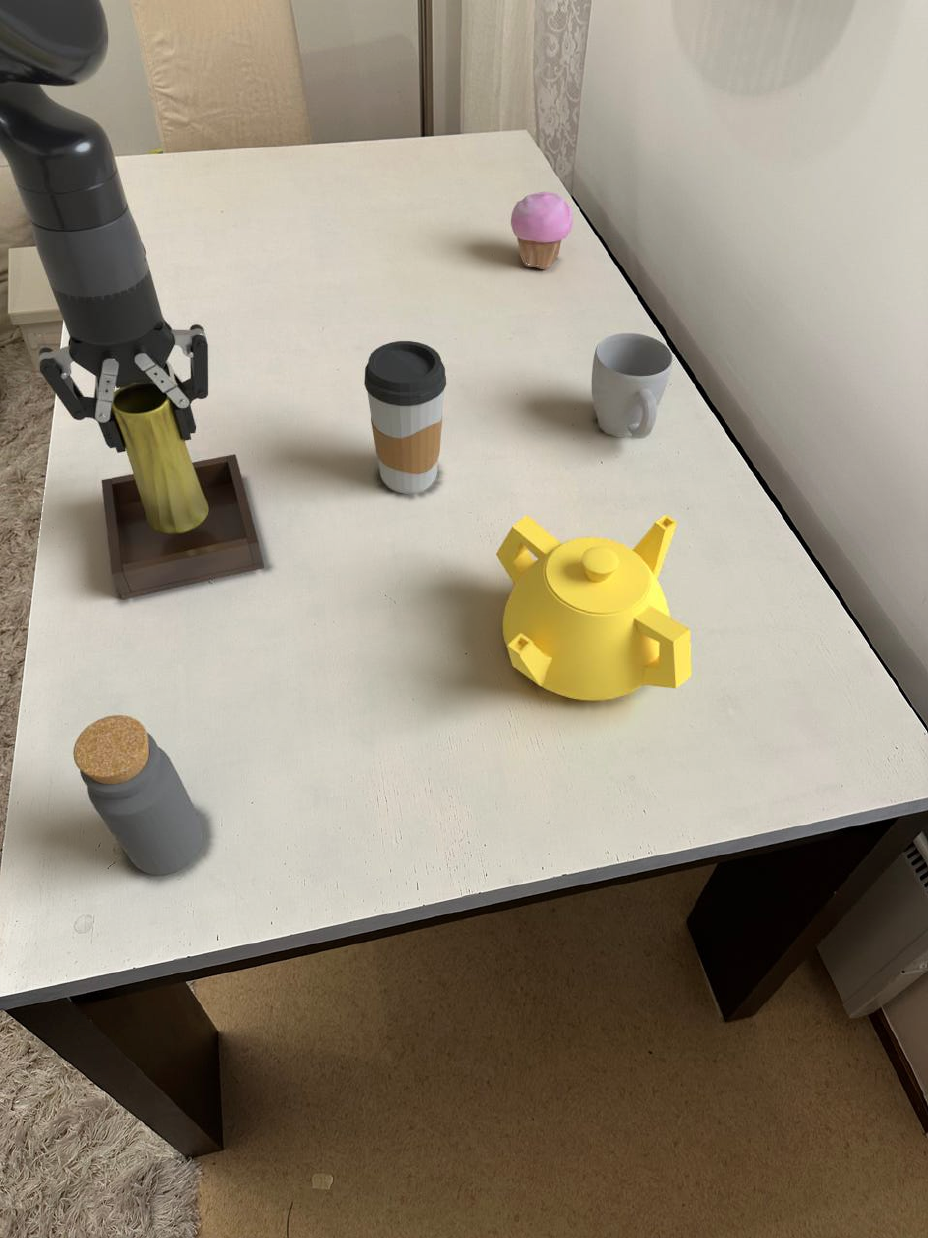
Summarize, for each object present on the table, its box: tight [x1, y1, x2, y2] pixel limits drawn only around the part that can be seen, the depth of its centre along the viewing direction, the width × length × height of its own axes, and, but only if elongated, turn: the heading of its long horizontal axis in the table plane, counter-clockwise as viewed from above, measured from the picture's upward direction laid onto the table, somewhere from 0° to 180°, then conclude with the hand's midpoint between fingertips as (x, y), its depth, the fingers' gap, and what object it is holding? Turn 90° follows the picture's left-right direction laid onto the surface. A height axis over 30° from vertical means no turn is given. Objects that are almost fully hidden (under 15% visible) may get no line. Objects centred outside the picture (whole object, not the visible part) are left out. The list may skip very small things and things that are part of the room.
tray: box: [101, 453, 265, 600], centre depth 87 cm, size 14×14×4 cm
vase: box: [111, 382, 209, 534], centre depth 80 cm, size 6×6×14 cm
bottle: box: [73, 714, 205, 877], centre depth 61 cm, size 6×6×15 cm
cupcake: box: [510, 191, 574, 270], centre depth 122 cm, size 9×9×10 cm
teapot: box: [495, 514, 693, 702], centre depth 76 cm, size 17×17×12 cm
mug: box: [591, 332, 674, 439], centre depth 98 cm, size 12×9×10 cm
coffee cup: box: [363, 340, 447, 495], centre depth 90 cm, size 8×8×15 cm
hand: (154, 440), depth 79 cm, fingers closed on vase, 5 cm apart
